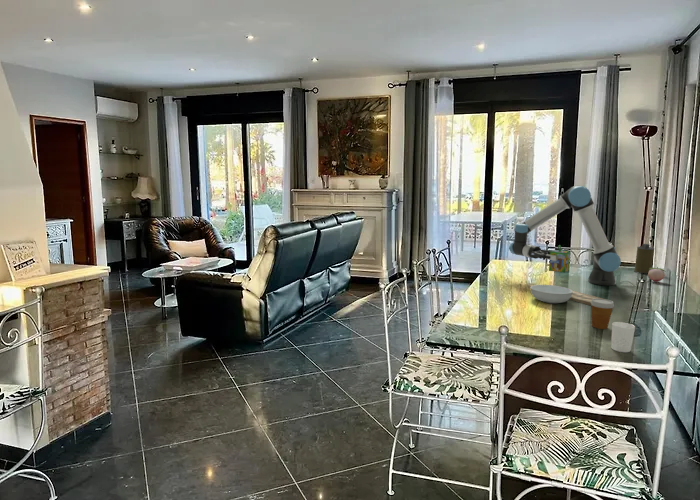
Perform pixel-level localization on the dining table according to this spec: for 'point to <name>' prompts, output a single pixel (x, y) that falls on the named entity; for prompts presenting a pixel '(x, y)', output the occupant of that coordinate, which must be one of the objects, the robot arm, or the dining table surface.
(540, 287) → the serving bowl
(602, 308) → the disposable coffee cup
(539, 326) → the dining table surface
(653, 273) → the decorative fruit
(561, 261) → the chalk box
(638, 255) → the canister
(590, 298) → the oak board
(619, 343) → the white cup
